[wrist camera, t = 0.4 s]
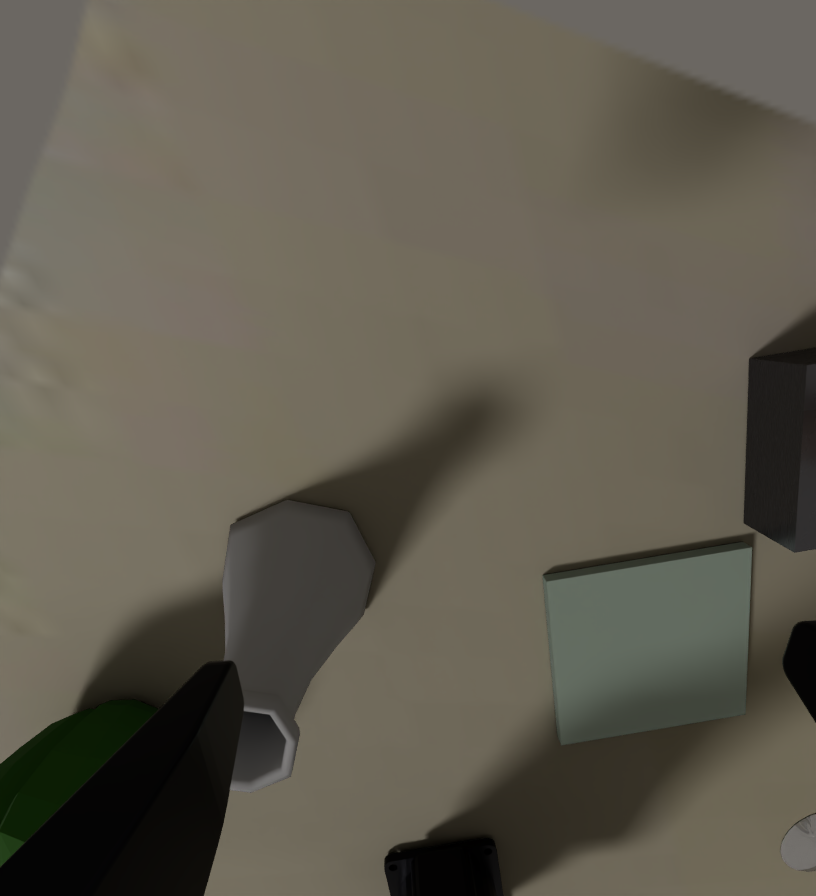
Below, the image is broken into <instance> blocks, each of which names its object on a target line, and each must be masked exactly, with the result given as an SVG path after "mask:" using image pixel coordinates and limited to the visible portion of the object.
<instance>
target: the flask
mask: <svg viewBox="0 0 816 896" xmlns="http://www.w3.org/2000/svg"><path fill="white" fill-rule="evenodd" d="M375 564H376V562H375V560H374V558H373V556H372V554H371V552H370V551H369V549H368V547H367V545H366V543H365V541H364V539H363V537H362V535H361V533H360V531H359V529H358V527H357V526H356V524H355V522H354V520H353V518H352V516H351V514H350V512H349V511H343V510H338V509H333V508H328V507H322V506H317V505H312V504H307V503H301V502H296V501H291V500H285V501H283V502H280V503H278V504H276V505H274V506H271V507H269V508H267V509H265V510H262V511H260V512H258V513H256V514H253V515H251V516H249V517H247V518H244V519H242V520H240V521H238V522H235V523H233V524H231V525H230V531H229V538H228V545H227V552H226V559H225V566H224V573H223V580H222V582H223V601H224V614H225V656H224V661H225V660H231V661H233V662H234V663H235V664H236V667H237V671H238V675H239V679H240V684H241V688H242V693H243V697H244V713H243V719H242V725H241V731H240V736H239V742H238V747H237V753H236V758H235V764H234V769H233V775H232V781H231V786H230V790H234V791H242V792H250V793H251V792H254V791H256V790H259V789H261V788H264V787H266V786H269V785H271V784H274V783H276V782H279V781H281V780H284V779H286V778H289V777H291V773H292V770H293V765H294V760H295V755H296V750H297V746H298V741H299V736H300V731H299V727H298V725H297V723H296V722H295V720H294V717H295V714H296V712H297V709H298V707H299V705H300V703H301V701H302V699H303V696H304V694H305V692H306V690H307V688H308V686H309V684H310V681H311V679H312V678H313V677H314V675H315V674H316V673H317V672H318V670H319V669H320V668H321V666H322V665H323V664H324V662H325V661H326V660H327V658H328V657H329V656H330V655H331V653H332V652H333V651H334V649H335V648H336V647H337V645H338V644H339V643H340V642H341V641H342V640H343V639H344V637H345V636H346V635H347V634H348V633H349V632H350V631H351V629H352V628H353V627H354V626H355V625H356V624H357V622H358V621H359V620H360V619H361V617H362V616H363V615H364V611H365V607H366V602H367V598H368V594H369V589H370V585H371V581H372V576H373V572H374V568H375Z"/></svg>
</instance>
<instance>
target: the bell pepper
mask: <svg viewBox="0 0 816 896" xmlns="http://www.w3.org/2000/svg"><path fill="white" fill-rule="evenodd" d="M158 710H159V709H157V708H155V707H152V706H150V705H147V704H145V703H142V702H140V701H137V700H135V699H134V700H111V701H108V702H106V703H103V704H100V705H99V706H98V707H97V708H96V709H95V710H94V709H90V708H89V709H87V710H84V711H81V712H79V713H76V714H73V715H71V716H69V717H66V718H64V719H62V720H59V721H57V722H55V723H52V724H51V725H49V726H48V727H47V728H45V729H44V730H43V731H41V732H40V733H39V734H38V735H36V736H35V737H34V738H32V739H31V740H30V741H28V742H27V743H26V744H24V745H23V746H22V747H20V748H19V749H18V750H17V751H16V752H14V753H13V754H12V755H11V756H9V757H8V758H7V759H6V760H5V761H3V762H2V763H1V764H0V867H1V866H2V865H3V864H4V863H5V862H6V861H7V860H8V859H9V858H10V857H11V856H12V855H13V854H14V853H15V852H16V851H17V850H18V849H19V848H20V847H21V846H22V845H23V844H24V843H25V842H26V841H27V840H28V839H29V838H30V837H31V836H32V835H33V834H34V833H35V832H36V831H37V830H38V829H39V828H40V827H41V826H42V825H43V824H44V823H45V822H46V821H47V820H48V819H49V818H50V817H51V816H52V815H53V814H54V813H55V812H56V811H57V810H58V809H59V808H60V807H61V806H62V805H63V804H64V803H65V802H66V801H67V800H68V799H69V798H70V797H71V796H72V795H73V794H74V793H75V792H76V791H77V790H78V789H79V788H80V787H81V786H82V785H83V784H84V783H85V782H86V781H87V780H88V779H89V778H90V777H91V776H92V775H93V774H94V773H95V772H96V771H97V770H98V769H99V768H100V767H101V766H102V765H103V764H104V763H105V762H106V761H107V760H108V759H109V758H110V757H111V756H112V755H113V754H114V753H115V752H116V751H117V750H118V749H119V748H120V747H121V746H122V745H123V744H124V743H125V742H126V741H127V740H128V739H129V738H130V737H131V736H132V735H133V734H134V733H135V732H136V731H137V730H138V729H139V728H140V727H141V726H142V725H143V724H144V723H145V722H146V721H147V720H148V719H149V718H151V717H152V716H153V715H154V714H155V713H156V712H157V711H158Z"/></svg>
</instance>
